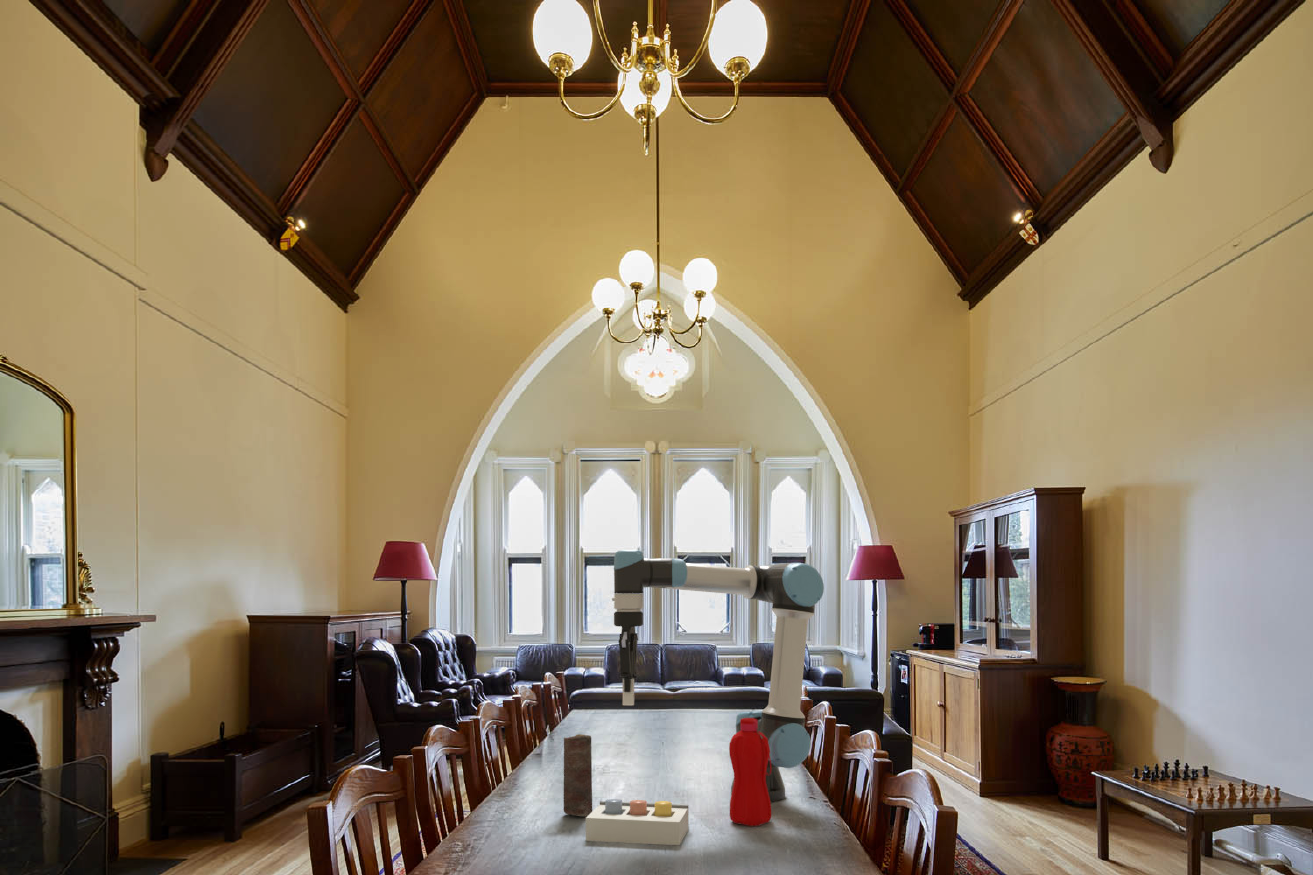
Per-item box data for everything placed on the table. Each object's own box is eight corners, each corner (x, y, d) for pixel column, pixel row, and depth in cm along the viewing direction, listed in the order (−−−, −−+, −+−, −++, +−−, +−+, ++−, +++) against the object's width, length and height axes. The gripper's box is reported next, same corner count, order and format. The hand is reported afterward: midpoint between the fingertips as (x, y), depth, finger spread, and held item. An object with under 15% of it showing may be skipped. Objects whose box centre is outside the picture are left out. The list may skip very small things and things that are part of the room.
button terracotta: (648, 817, 219) (648, 800, 219) (644, 821, 215) (644, 804, 216) (631, 816, 220) (631, 799, 220) (628, 821, 216) (628, 803, 216)
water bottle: (761, 830, 221) (759, 722, 225) (724, 822, 228) (723, 718, 232) (782, 822, 228) (780, 718, 232) (746, 815, 235) (744, 714, 239)
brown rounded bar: (567, 820, 230) (568, 737, 233) (558, 813, 236) (560, 733, 240) (596, 817, 233) (597, 735, 236) (586, 810, 240) (587, 731, 243)
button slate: (623, 816, 220) (623, 799, 221) (620, 820, 216) (620, 802, 217) (607, 815, 221) (607, 798, 221) (603, 819, 217) (603, 802, 217)
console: (688, 829, 222) (688, 804, 222) (679, 845, 208) (679, 819, 209) (600, 824, 225) (600, 801, 226) (585, 840, 212) (585, 814, 213)
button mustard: (672, 818, 218) (672, 801, 218) (670, 823, 214) (670, 805, 215) (656, 818, 218) (656, 800, 219) (653, 822, 215) (653, 804, 215)
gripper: (619, 609, 243) (619, 701, 240) (608, 611, 231) (608, 708, 227) (647, 609, 242) (647, 701, 238) (637, 611, 229) (637, 708, 226)
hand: (628, 704), depth 233 cm, fingers closed
